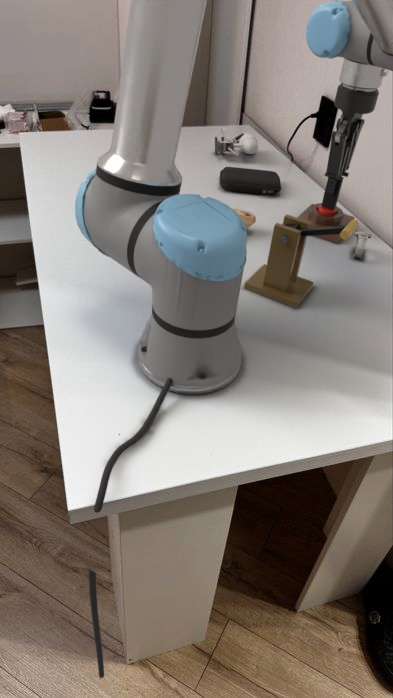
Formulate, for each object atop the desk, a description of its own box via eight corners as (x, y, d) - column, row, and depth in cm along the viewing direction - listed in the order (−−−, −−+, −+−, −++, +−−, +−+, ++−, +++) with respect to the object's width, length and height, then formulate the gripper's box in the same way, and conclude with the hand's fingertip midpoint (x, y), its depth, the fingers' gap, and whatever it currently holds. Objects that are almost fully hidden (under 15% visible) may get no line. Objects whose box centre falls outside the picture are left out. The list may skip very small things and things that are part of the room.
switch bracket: (312, 287, 97) (329, 223, 88) (295, 308, 91) (312, 242, 83) (263, 269, 100) (275, 206, 92) (244, 288, 95) (255, 222, 86)
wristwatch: (366, 249, 109) (373, 227, 106) (364, 264, 105) (371, 241, 101) (349, 246, 110) (355, 224, 107) (346, 260, 105) (353, 237, 102)
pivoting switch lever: (359, 230, 85) (358, 215, 84) (349, 242, 81) (348, 227, 80) (290, 234, 92) (287, 221, 90) (278, 246, 88) (275, 232, 87)
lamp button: (331, 222, 112) (333, 213, 110) (313, 216, 113) (315, 207, 112) (337, 215, 114) (340, 207, 113) (320, 210, 116) (322, 201, 114)
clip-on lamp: (212, 150, 154) (216, 159, 138) (212, 126, 151) (216, 133, 135) (253, 149, 154) (261, 157, 138) (253, 125, 151) (262, 131, 135)
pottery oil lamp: (258, 239, 108) (252, 216, 102) (201, 251, 110) (192, 229, 104) (254, 207, 112) (248, 183, 106) (199, 219, 115) (191, 196, 109)
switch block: (336, 243, 110) (341, 226, 108) (292, 228, 114) (296, 211, 111) (351, 226, 117) (356, 209, 114) (309, 212, 120) (313, 196, 118)
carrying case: (218, 193, 124) (280, 200, 124) (219, 181, 122) (283, 187, 122) (219, 175, 132) (278, 181, 133) (220, 163, 130) (280, 169, 131)
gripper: (368, 97, 91) (334, 222, 107) (388, 83, 100) (355, 201, 115) (327, 88, 94) (300, 211, 109) (350, 75, 103) (322, 191, 118)
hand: (328, 206), depth 112 cm, fingers closed
